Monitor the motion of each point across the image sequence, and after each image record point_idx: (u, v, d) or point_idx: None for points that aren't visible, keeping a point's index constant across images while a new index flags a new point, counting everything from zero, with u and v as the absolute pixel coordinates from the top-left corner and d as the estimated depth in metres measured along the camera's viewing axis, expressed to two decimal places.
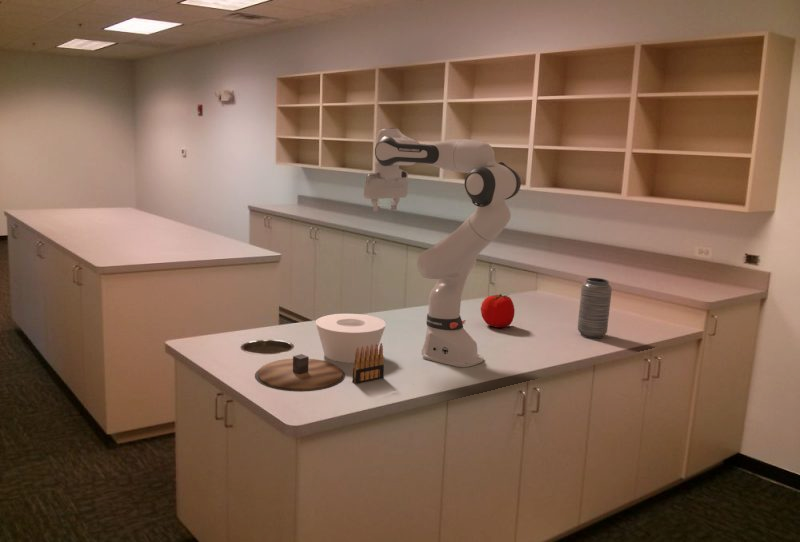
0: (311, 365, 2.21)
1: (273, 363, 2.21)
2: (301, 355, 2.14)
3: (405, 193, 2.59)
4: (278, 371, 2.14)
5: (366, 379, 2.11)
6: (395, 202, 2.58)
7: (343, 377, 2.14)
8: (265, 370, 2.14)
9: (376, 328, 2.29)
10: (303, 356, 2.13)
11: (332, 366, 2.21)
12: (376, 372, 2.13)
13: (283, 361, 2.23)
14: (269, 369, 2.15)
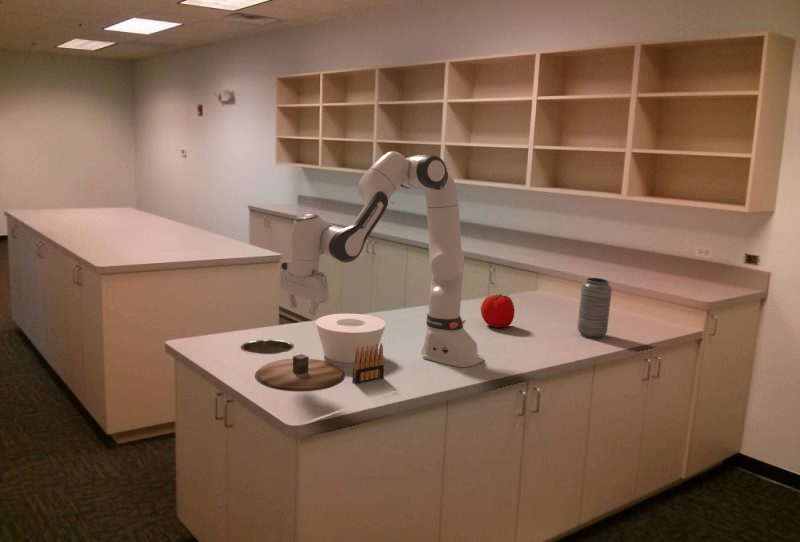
0: (311, 365, 2.21)
1: (273, 363, 2.21)
2: (301, 355, 2.14)
3: None
4: (278, 371, 2.14)
5: (366, 379, 2.11)
6: (293, 298, 2.15)
7: (343, 377, 2.14)
8: (265, 370, 2.14)
9: (376, 328, 2.29)
10: (303, 356, 2.13)
11: (332, 366, 2.21)
12: (376, 372, 2.13)
13: (283, 361, 2.23)
14: (269, 369, 2.15)
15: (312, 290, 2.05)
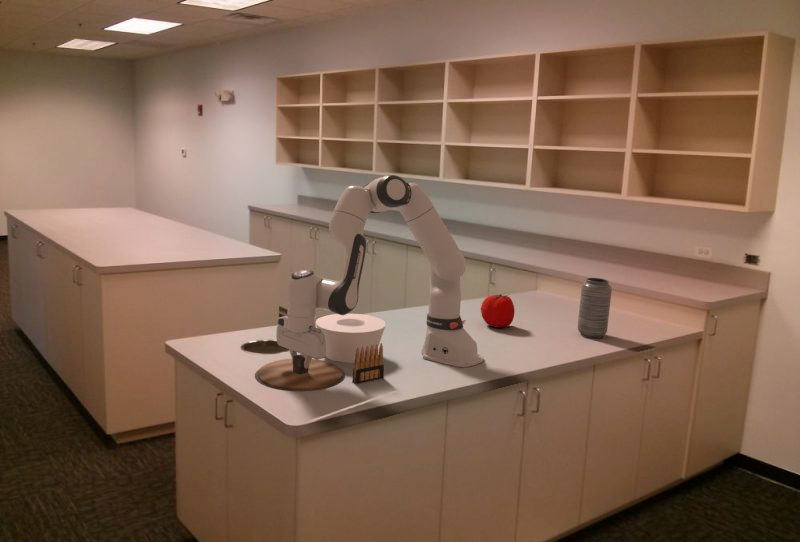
0: (311, 365, 2.21)
1: (273, 363, 2.21)
2: (301, 355, 2.14)
3: None
4: (278, 371, 2.14)
5: (366, 379, 2.11)
6: (295, 354, 2.15)
7: (343, 377, 2.14)
8: (265, 370, 2.14)
9: (376, 328, 2.29)
10: (303, 356, 2.13)
11: (332, 366, 2.21)
12: (376, 372, 2.13)
13: (283, 361, 2.23)
14: (269, 369, 2.15)
15: (310, 346, 2.07)
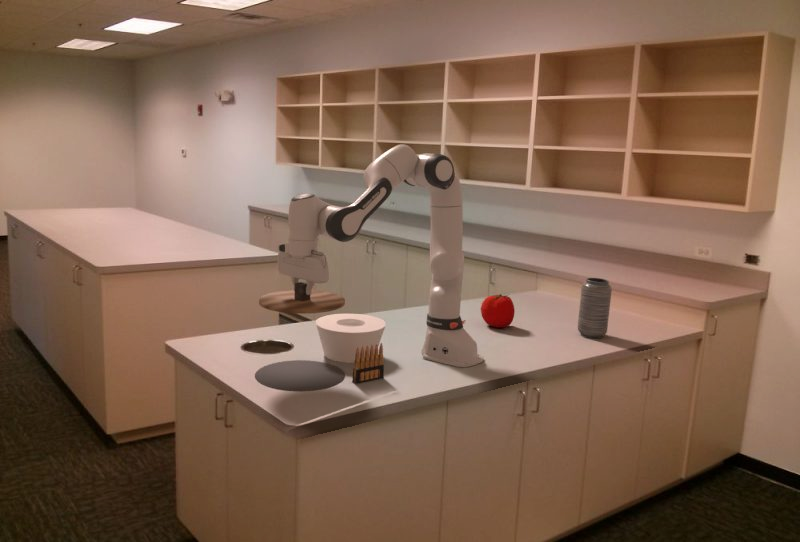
0: (313, 294, 2.16)
1: (274, 293, 2.16)
2: (303, 282, 2.10)
3: None
4: (279, 298, 2.09)
5: (366, 379, 2.11)
6: (296, 282, 2.11)
7: (343, 377, 2.14)
8: (266, 298, 2.09)
9: (376, 328, 2.29)
10: (305, 283, 2.09)
11: (335, 295, 2.16)
12: (376, 372, 2.13)
13: (284, 292, 2.18)
14: (270, 297, 2.10)
15: (312, 270, 2.02)
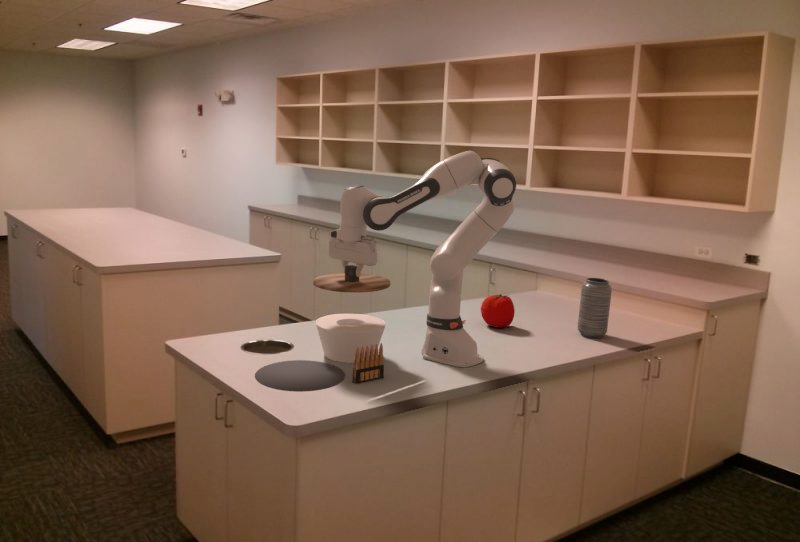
0: (360, 277, 2.38)
1: (325, 275, 2.38)
2: (352, 265, 2.31)
3: None
4: (331, 280, 2.31)
5: (366, 379, 2.11)
6: (346, 265, 2.32)
7: (343, 377, 2.14)
8: (319, 279, 2.31)
9: (376, 328, 2.29)
10: (354, 266, 2.30)
11: (380, 277, 2.38)
12: (376, 372, 2.13)
13: (334, 275, 2.40)
14: (323, 279, 2.32)
15: (362, 254, 2.24)
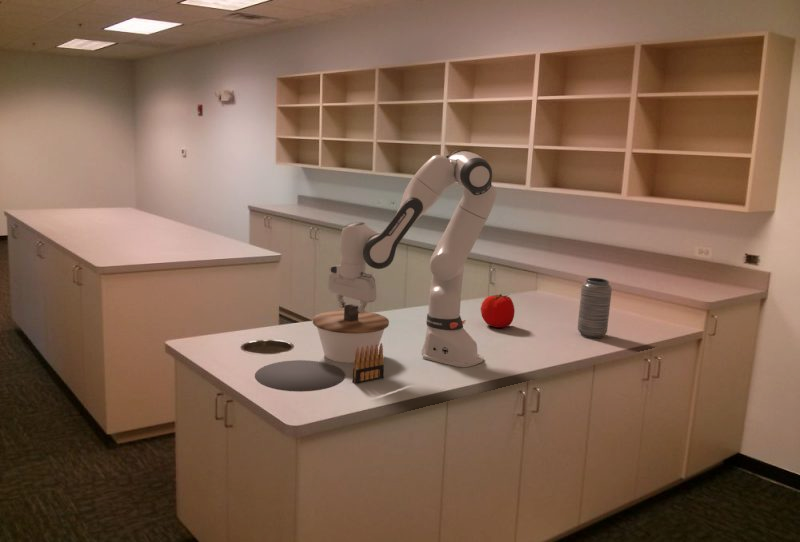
0: (359, 315, 2.41)
1: (324, 313, 2.41)
2: (351, 304, 2.34)
3: None
4: (330, 319, 2.34)
5: (366, 379, 2.11)
6: (341, 299, 2.37)
7: (343, 377, 2.14)
8: (319, 318, 2.34)
9: None
10: (353, 305, 2.34)
11: (378, 316, 2.41)
12: (376, 372, 2.13)
13: (333, 312, 2.43)
14: (322, 317, 2.35)
15: (361, 291, 2.27)
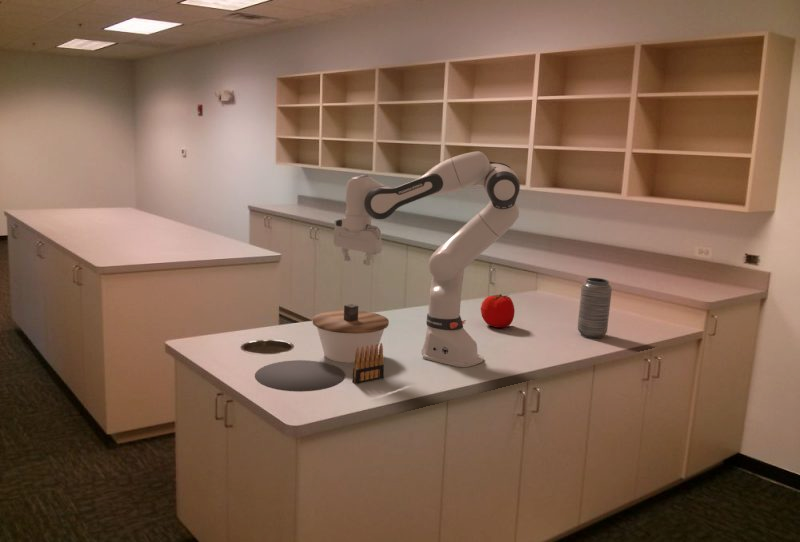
0: (359, 315, 2.41)
1: (324, 313, 2.41)
2: (351, 304, 2.35)
3: None
4: (330, 319, 2.34)
5: (366, 379, 2.11)
6: (346, 252, 2.39)
7: (343, 377, 2.14)
8: (319, 318, 2.34)
9: None
10: (353, 305, 2.34)
11: (378, 316, 2.41)
12: (376, 372, 2.13)
13: (333, 312, 2.43)
14: (322, 318, 2.35)
15: (367, 242, 2.29)
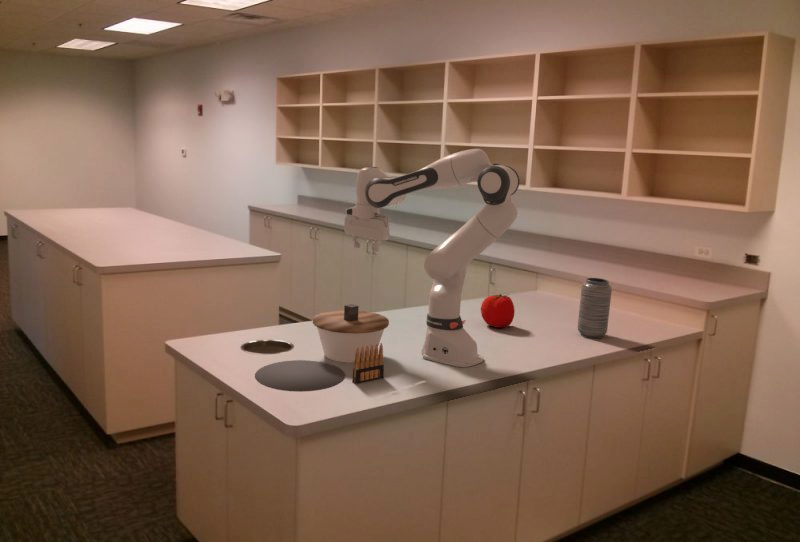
0: (359, 314, 2.41)
1: (324, 313, 2.41)
2: (351, 304, 2.35)
3: None
4: (330, 319, 2.34)
5: (366, 379, 2.11)
6: (356, 240, 2.53)
7: (343, 377, 2.14)
8: (319, 318, 2.34)
9: None
10: (353, 305, 2.34)
11: (378, 316, 2.41)
12: (376, 372, 2.13)
13: (333, 312, 2.43)
14: (322, 317, 2.35)
15: (375, 230, 2.43)
